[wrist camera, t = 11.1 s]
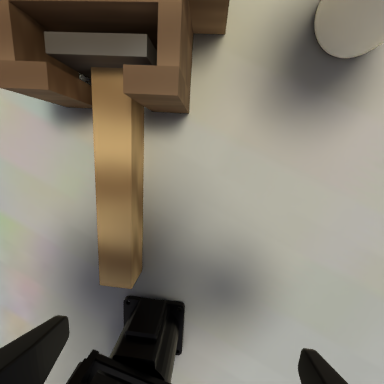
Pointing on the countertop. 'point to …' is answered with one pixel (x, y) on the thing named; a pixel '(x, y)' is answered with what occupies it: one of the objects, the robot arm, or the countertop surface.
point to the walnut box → (106, 23)
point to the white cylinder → (349, 26)
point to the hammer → (113, 143)
